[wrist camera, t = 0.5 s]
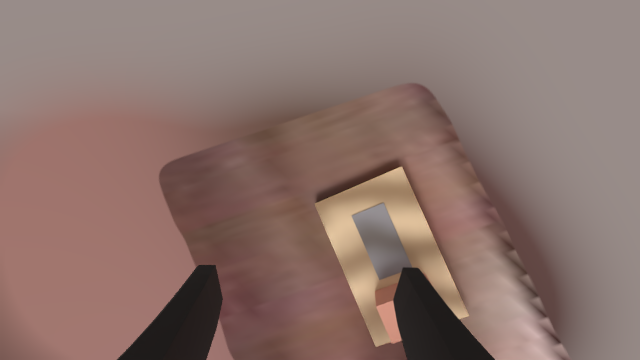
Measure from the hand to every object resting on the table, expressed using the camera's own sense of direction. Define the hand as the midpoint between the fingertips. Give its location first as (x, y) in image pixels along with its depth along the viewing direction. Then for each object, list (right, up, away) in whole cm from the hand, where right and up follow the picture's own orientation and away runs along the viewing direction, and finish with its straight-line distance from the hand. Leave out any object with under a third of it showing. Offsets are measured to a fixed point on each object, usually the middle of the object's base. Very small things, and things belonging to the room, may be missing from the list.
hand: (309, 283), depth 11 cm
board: (+8, -5, +23) cm, 25 cm away
